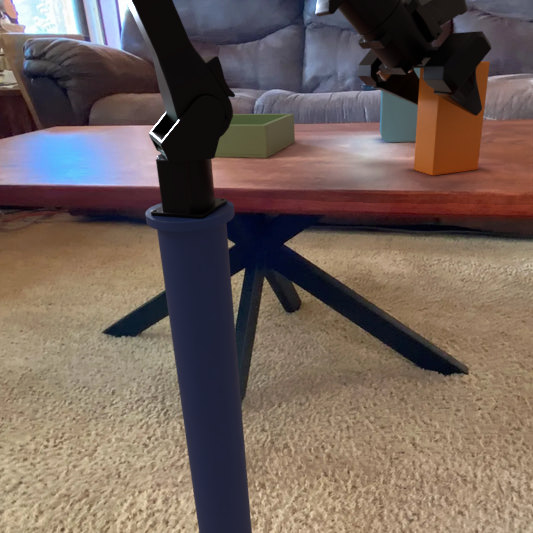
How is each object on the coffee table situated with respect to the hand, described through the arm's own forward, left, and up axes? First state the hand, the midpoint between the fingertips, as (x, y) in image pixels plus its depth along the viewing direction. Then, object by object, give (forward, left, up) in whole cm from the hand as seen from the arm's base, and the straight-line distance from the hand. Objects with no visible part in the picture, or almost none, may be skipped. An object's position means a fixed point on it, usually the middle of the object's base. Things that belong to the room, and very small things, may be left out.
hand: (452, 109), depth 64 cm
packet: (0, 0, -8) cm, 8 cm away
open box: (+12, +34, -8) cm, 37 cm away
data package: (+23, +6, -8) cm, 25 cm away
